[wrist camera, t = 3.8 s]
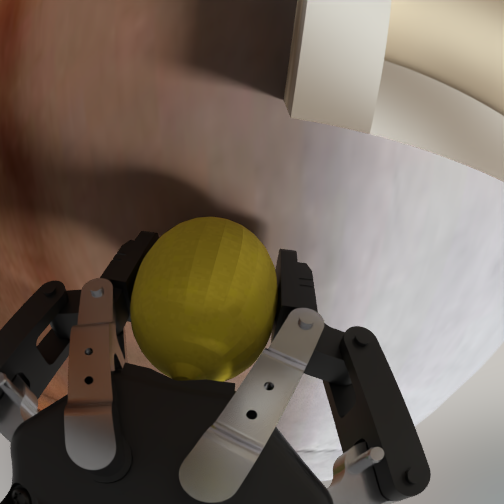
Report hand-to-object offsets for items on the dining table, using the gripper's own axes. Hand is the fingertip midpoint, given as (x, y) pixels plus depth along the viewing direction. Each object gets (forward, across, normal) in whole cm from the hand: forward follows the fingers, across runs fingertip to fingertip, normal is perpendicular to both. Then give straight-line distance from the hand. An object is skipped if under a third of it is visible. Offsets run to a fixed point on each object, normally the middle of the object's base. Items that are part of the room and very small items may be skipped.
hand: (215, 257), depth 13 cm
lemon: (+2, 0, 0) cm, 2 cm away
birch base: (+2, -10, -15) cm, 18 cm away
